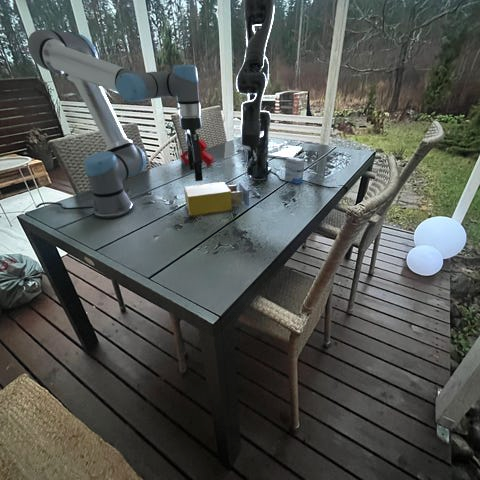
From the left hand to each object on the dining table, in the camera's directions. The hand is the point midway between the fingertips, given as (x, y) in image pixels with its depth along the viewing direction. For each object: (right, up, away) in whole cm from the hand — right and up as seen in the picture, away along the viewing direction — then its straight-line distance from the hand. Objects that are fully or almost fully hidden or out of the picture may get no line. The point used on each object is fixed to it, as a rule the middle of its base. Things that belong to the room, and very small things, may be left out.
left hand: (195, 175), depth 107 cm
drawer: (+15, -9, +12) cm, 21 cm away
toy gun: (-9, +22, +63) cm, 67 cm away
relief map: (+41, +38, +86) cm, 103 cm away
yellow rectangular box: (+4, -12, +9) cm, 16 cm away
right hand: (+22, +2, +7) cm, 23 cm away
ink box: (+46, +5, +36) cm, 59 cm away
